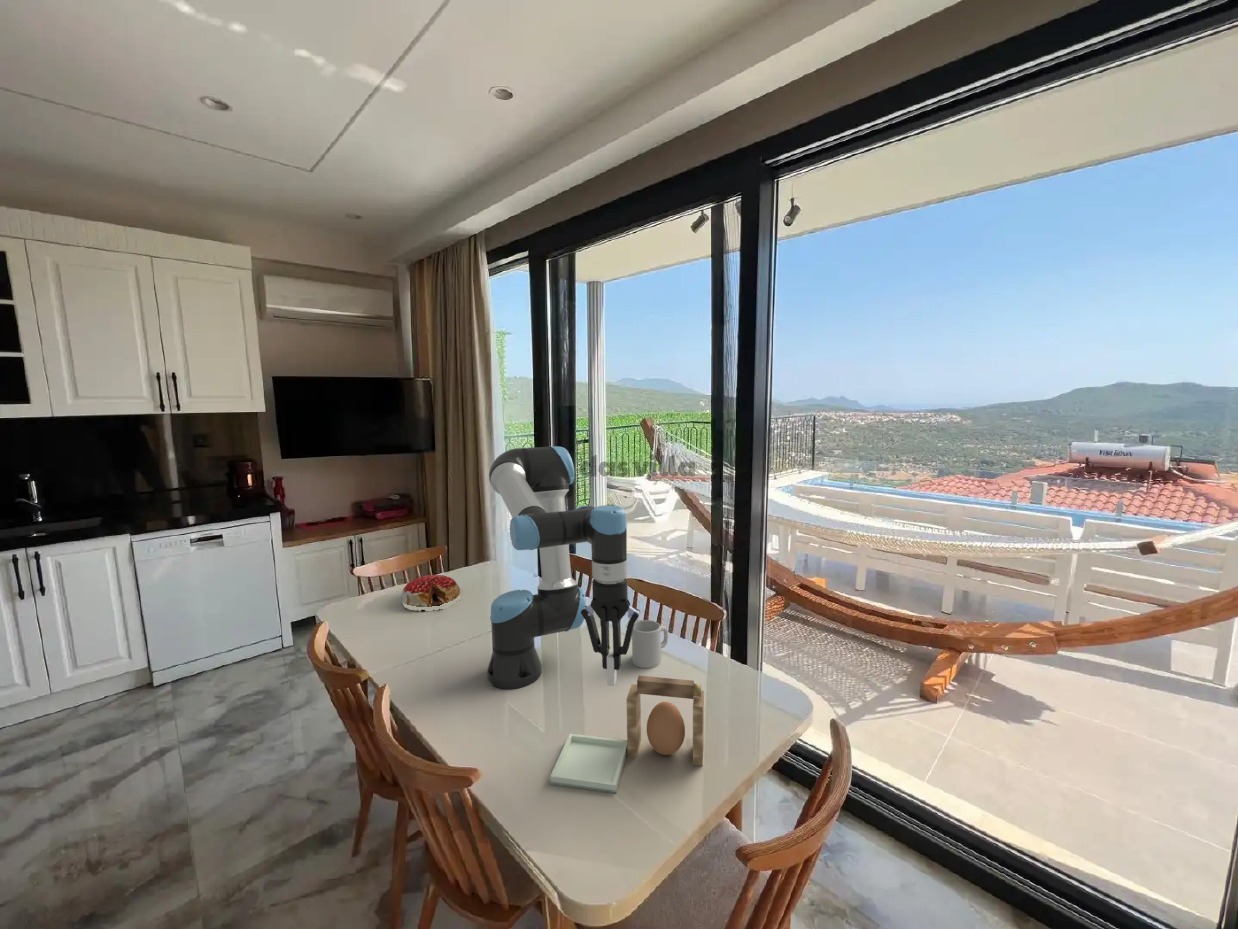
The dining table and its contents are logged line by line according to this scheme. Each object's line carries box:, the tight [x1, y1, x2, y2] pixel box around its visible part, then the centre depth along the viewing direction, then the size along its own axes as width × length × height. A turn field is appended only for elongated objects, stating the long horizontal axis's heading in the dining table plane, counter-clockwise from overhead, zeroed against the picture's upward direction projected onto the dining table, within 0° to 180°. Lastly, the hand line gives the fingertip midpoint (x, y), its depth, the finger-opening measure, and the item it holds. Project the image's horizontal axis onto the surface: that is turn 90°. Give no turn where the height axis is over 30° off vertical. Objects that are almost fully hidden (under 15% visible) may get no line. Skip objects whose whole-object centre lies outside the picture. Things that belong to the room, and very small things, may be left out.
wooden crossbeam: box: [636, 675, 702, 700], centre depth 108 cm, size 14×2×3 cm, turn 78°
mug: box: [631, 619, 669, 669], centre depth 150 cm, size 12×8×11 cm
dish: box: [549, 733, 627, 794], centre depth 106 cm, size 13×13×2 cm
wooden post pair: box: [626, 683, 705, 767], centre depth 109 cm, size 16×6×13 cm, turn 78°
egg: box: [646, 701, 686, 756], centre depth 110 cm, size 8×8×11 cm
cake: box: [401, 574, 461, 607], centre depth 198 cm, size 23×24×10 cm
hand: (612, 682), depth 111 cm, fingers closed
